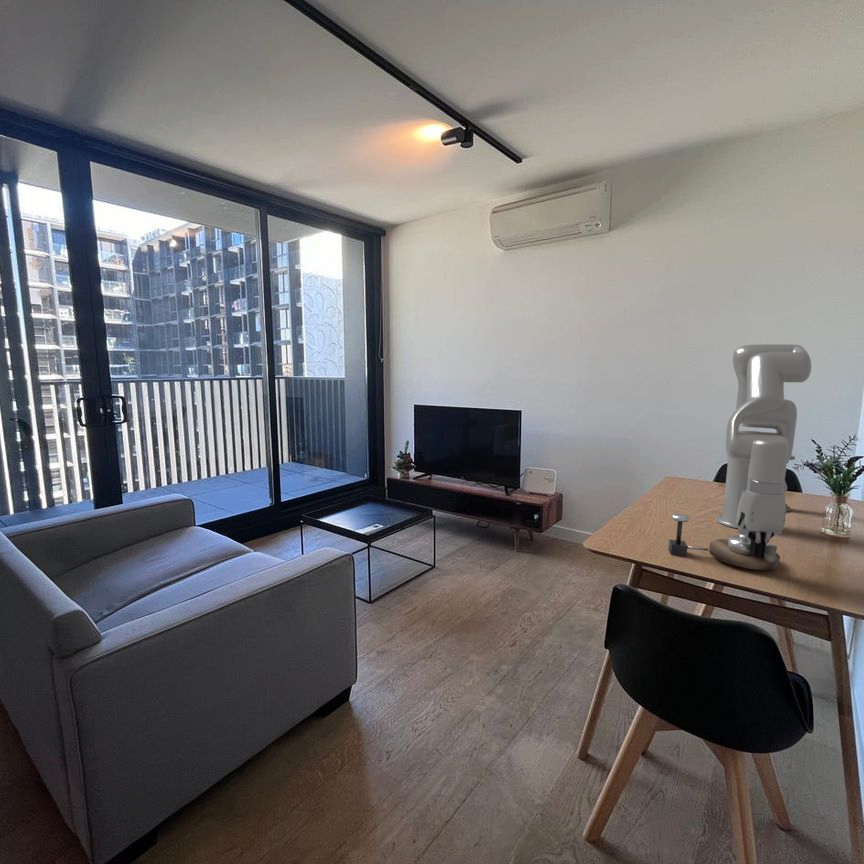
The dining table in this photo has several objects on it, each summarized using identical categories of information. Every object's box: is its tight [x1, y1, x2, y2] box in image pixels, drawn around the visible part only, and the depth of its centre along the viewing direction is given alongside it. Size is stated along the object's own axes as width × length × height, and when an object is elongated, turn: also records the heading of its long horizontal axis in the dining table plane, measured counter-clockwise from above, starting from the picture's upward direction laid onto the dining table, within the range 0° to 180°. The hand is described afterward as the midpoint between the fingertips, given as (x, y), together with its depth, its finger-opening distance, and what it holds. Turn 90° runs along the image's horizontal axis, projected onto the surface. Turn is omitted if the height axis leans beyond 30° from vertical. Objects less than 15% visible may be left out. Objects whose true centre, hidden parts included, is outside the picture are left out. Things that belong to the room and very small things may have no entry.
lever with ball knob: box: [667, 512, 709, 558], centre depth 130 cm, size 10×4×11 cm, turn 72°
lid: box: [728, 533, 753, 556], centre depth 126 cm, size 7×7×4 cm
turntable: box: [708, 538, 781, 571], centre depth 126 cm, size 16×16×6 cm
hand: (756, 555), depth 120 cm, fingers closed
